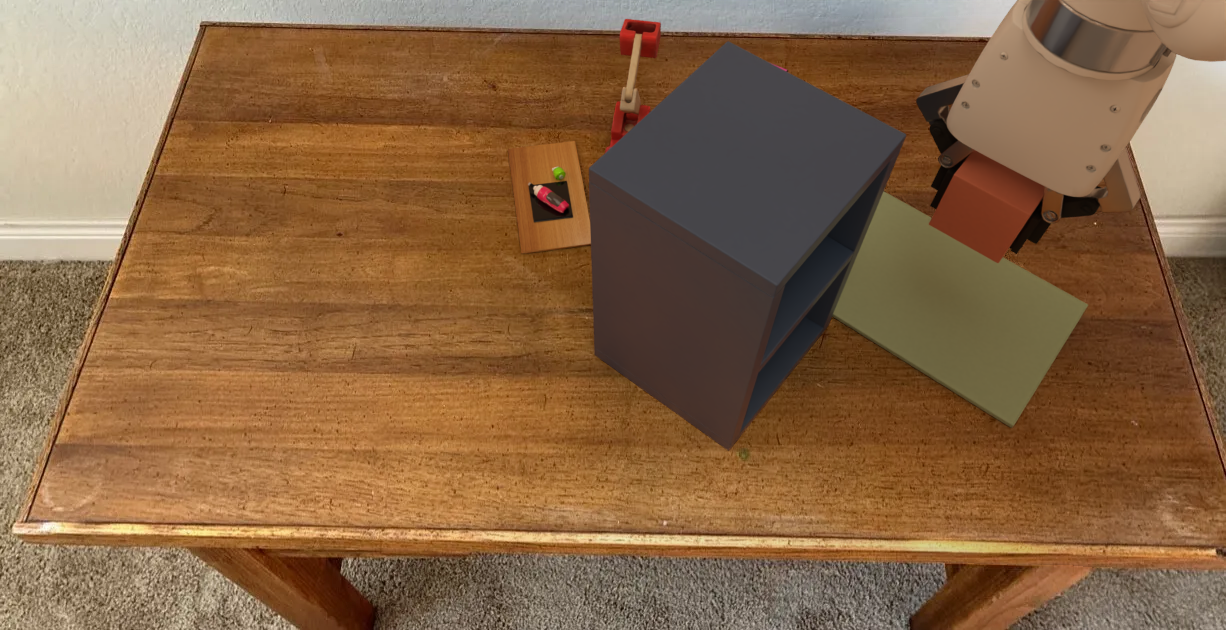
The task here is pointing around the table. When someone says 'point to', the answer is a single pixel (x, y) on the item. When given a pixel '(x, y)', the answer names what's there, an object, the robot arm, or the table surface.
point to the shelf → (730, 235)
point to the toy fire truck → (634, 74)
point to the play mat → (955, 311)
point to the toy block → (986, 205)
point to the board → (549, 197)
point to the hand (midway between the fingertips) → (982, 216)
